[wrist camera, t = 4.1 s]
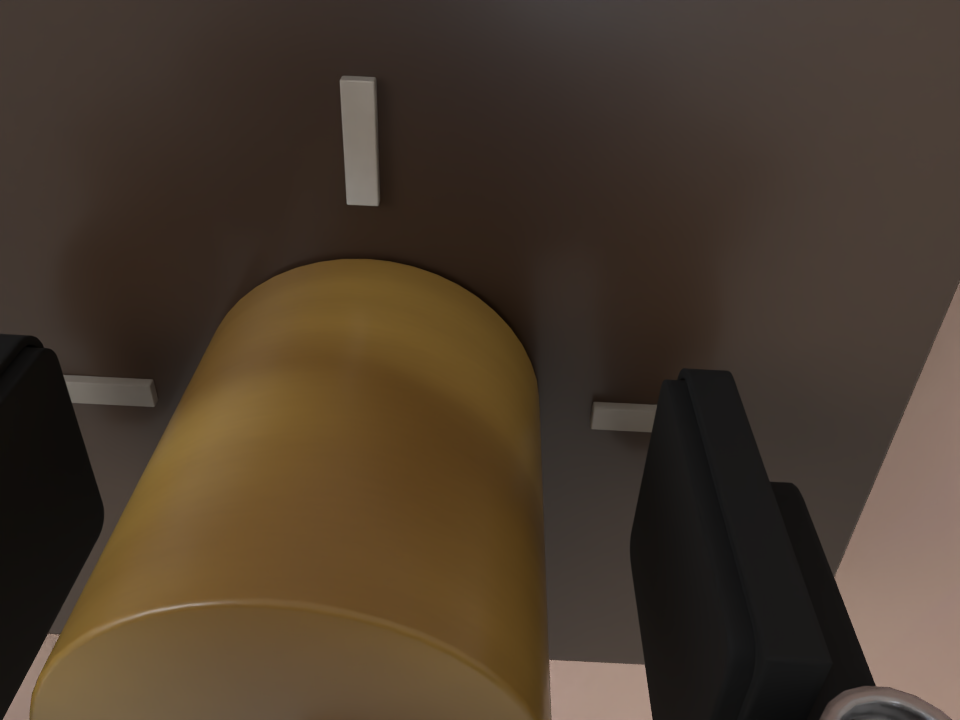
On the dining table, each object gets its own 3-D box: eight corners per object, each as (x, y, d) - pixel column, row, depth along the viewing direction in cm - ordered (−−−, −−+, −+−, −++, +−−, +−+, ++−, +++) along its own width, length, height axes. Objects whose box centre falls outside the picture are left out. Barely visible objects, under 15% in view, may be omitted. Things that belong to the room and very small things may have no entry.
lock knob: (229, 511, 13) (81, 908, 8) (180, 247, 10) (-72, 623, 6) (526, 526, 13) (533, 931, 8) (553, 265, 10) (582, 657, 6)
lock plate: (53, 505, 17) (-29, 639, 14) (-172, -125, 11) (-390, -84, 8) (754, 541, 17) (797, 682, 14) (955, -71, 11) (1098, -13, 8)
